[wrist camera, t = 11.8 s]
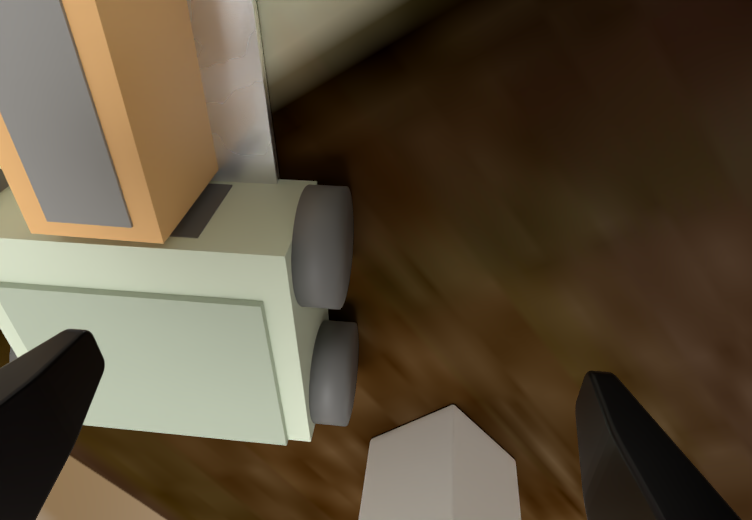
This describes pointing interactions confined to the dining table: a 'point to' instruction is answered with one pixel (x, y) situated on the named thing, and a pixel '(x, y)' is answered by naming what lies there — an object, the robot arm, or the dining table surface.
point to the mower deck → (201, 312)
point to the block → (102, 116)
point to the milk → (439, 473)
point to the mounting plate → (235, 89)
